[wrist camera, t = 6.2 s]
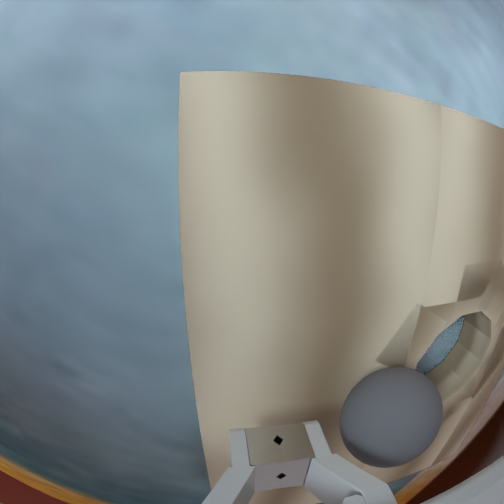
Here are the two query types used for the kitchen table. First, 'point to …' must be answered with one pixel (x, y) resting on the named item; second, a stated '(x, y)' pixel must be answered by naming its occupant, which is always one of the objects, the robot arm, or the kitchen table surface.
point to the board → (333, 254)
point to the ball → (391, 417)
